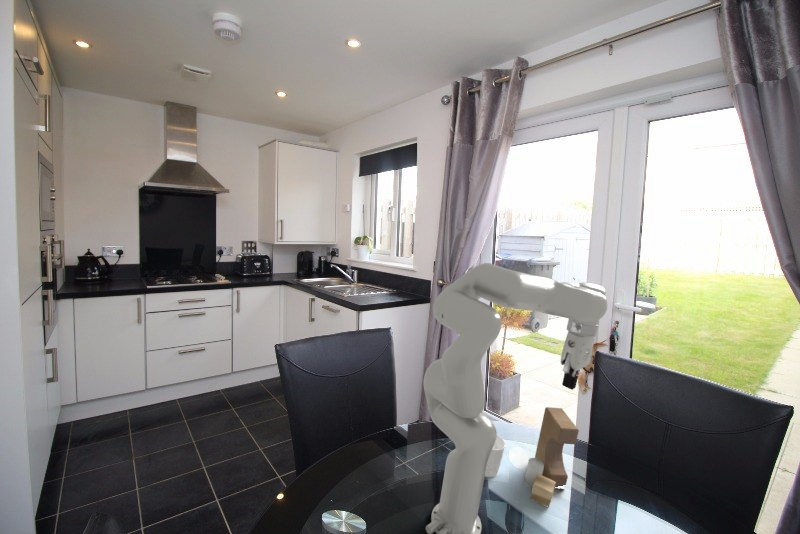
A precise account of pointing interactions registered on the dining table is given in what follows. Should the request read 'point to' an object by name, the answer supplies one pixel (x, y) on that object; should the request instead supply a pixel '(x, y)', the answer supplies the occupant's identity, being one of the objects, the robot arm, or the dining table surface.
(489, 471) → the white cup
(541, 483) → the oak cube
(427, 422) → the dining table surface
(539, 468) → the grey tub
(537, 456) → the decorative block
